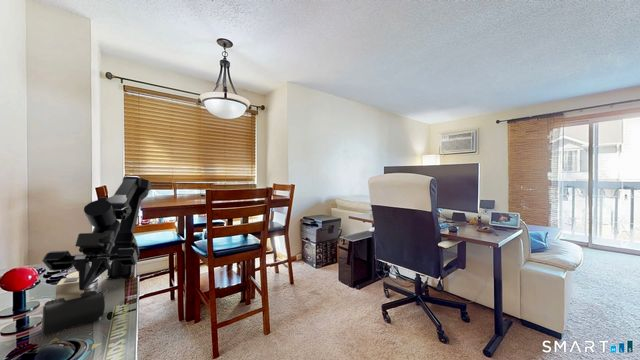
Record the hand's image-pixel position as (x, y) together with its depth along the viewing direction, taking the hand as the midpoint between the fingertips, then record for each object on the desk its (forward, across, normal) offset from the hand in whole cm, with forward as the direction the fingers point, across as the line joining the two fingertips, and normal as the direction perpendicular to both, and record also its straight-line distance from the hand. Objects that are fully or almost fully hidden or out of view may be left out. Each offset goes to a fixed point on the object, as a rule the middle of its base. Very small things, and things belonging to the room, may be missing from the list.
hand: (81, 289), depth 61 cm
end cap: (+8, 0, +3) cm, 8 cm away
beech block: (-5, -8, +15) cm, 18 cm away
